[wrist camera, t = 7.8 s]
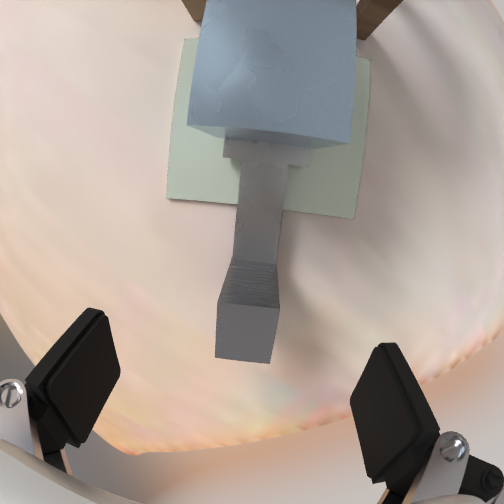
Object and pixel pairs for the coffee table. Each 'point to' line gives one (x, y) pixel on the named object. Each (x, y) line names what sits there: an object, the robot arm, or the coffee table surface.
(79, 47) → the coffee table surface
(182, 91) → the mat
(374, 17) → the tunnel
